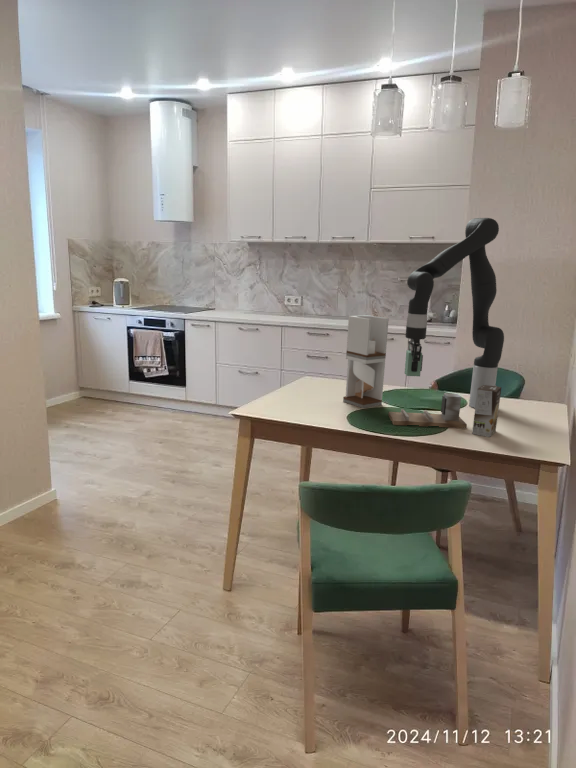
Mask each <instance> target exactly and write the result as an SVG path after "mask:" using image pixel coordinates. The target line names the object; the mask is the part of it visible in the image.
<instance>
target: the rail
mask: <svg viewBox="0 0 576 768" xmlns="http://www.w3.org/2000/svg"><path fill="white" fill-rule="evenodd" d="M461 402H462V396H461V395H460V394H458V393H449V392H447V393H445V392H444V393H443V395H442V398H441V407H440V413H430V412H429V411H428V410H427V409H425V410H423V413H421V412H407V411H406V410H405V409H404V408H401V409H400V411H399V412H397V411H388V415H387V416H388V418H389V420H390V422H391V421H392V422H391V424H392V425H393V426H407V425H419V426H418V427H428V426H439V427H438V428H453V429H455V428H456V429H467V425H468V424H467V423H466V422H465V421H464V419H462V417H460V413H461V412H460V410H461Z"/></svg>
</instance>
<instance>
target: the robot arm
mask: <svg viewBox="0 0 576 768" xmlns="http://www.w3.org/2000/svg"><path fill="white" fill-rule="evenodd" d="M499 231H500V227H499V223H498V221H497V220H496V219H494V218H490V217H475V218H471V219H470V220H469V221H467V224H466V226H465V232H464V233H465V234H464V235H465V237H464V239H462V240H461V241H459V242H457V243H455V244H453V245H451V246H449V247H447V248H445V249H443V251H441V252H439V253H438V254H437V255H436V256H434V258H432V259H431V260H430V261H429V262H427V263H425V264H424V265H421V266H420V267H418V268H416V269H415V270H413V272H411V273H410V274H409V276H408V277H407V287H408V288H409V289H410V290H412V291H415V292H414V296H413V297H412V298H410V299H409V300H408V301H409V302H408V308H407V309H408V310H407V316H406V317H407V318H406V326H405V338H406V339H408V341H407V346H408V347H407V348H408V349H407V350H409V351H411V355H412V366H411V371H412V372H417V368H418V362H419V361H420V356H421V353H422V349H423V347H422V344H421V340H425V339H426V337H427V330H428V329H427V328H428V327H427V326H428V308H429V301H430V299H431V295H432V293H433V290H434V285H435V284H434V283H435V281H434V279H437V278H440V277H442V276H444V275H445V274H446V273H448V272H449V271H450V270H451V269H453V268H454V267H455V266H456V265H458V263H460V262H461V261H463V259H466V258H467V257H468V260H469V271H470V286H471V297H472V335H471V336H472V342H473V344H474V345H475V346H476V347H478V348H480V349H484V350H483V353H482V355H481V356H480V355H479V356H477V357H475V358H474V361H473V365H472V366H473V368H472V374H471V375H472V376H471V384H470V385H471V386H470V394H469V400H468V401H469V403H468V406H469V407H470V406H471V408H473V407H474V408H473V409H475V406H476V398H477V390H478V388H479V387H481V386H483V385H488V386H497V385H496V382H497V376H498V375H497V374H498V368H499V367H498V366H499V363H500V361H501V358H502V353H503V347H504V342H505V334H504V331H503V330H502V328H500V327H497V326H491V325H489V312H490V309H491V307H492V305H493V303H494V301H495V298H496V296H497V291H498V290H497V279H496V278H497V277H496V273H495V271H494V268H493V267H492V264H491V263H490V261H489V259H488V256H487V251H486V245H488V244H490V243H491V242H493V241H494V240H495V239H496V238H497V236H498V234H499ZM409 339H410V340H409ZM415 356H417V358H415Z"/></svg>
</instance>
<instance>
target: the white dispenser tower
mask: <svg viewBox="0 0 576 768" xmlns="http://www.w3.org/2000/svg"><path fill="white" fill-rule="evenodd" d="M389 321H390V319H389V318H388V317H381V316H376V315H348V325H347V337H346V338H347V339H346V341H347V342H346V355H345V359H346V360H347V369H346V371H347V372H346V384H345V385H346V387H345V396H343V398H342V399H343V401H342V402H344V403H345V404H350V405H352V406H356V407H359V408H360V409H361V408H362V409H365V408H371V407H377V406H382V405H383V403H382V402H383V393H384V392H383V391H384V379H385V370H386V369H385V368H386V357H387V354H386V353H387V344H388V331H389Z"/></svg>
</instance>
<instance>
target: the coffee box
mask: <svg viewBox="0 0 576 768" xmlns="http://www.w3.org/2000/svg"><path fill="white" fill-rule="evenodd" d="M501 394H502V387H501V386H497V385H496V386H488V385H483V386H481V387H479V388H478V390H477V398H476V406H475V408H474V415H473V422H472V430H471V431H472V432H471V434H473V435H477V436H478V435H479V436H482V437H487V438H491V437H492V435H494V434H495V432H496V430H497V426H498V425H497V424H498V417H499V416H498V415H499V409H500V400H501Z"/></svg>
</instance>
